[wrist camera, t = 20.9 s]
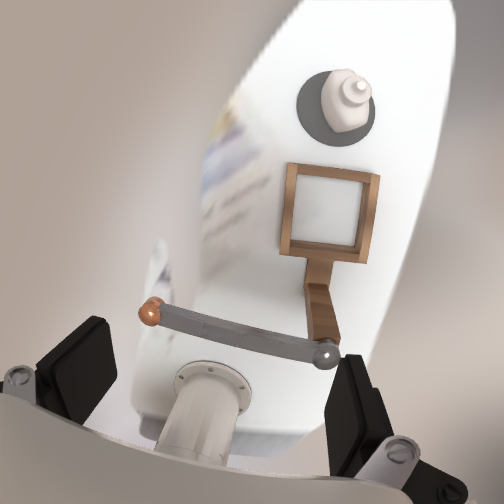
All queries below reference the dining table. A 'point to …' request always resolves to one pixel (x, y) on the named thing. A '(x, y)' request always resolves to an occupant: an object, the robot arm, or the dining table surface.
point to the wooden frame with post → (327, 247)
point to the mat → (315, 119)
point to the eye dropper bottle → (345, 100)
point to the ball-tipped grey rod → (240, 334)
